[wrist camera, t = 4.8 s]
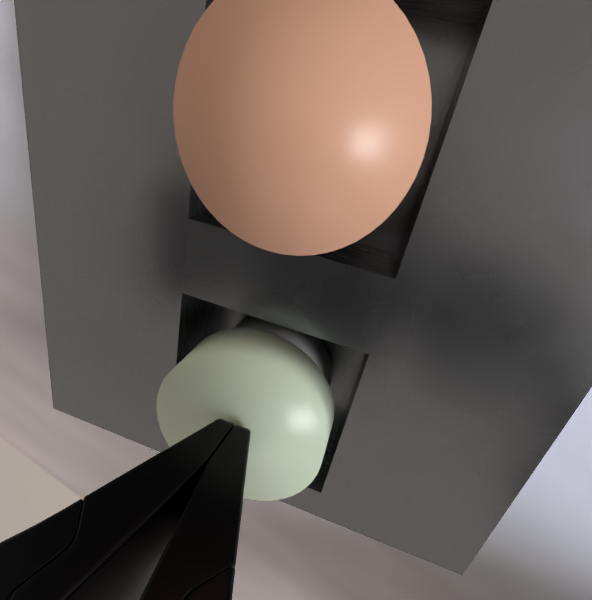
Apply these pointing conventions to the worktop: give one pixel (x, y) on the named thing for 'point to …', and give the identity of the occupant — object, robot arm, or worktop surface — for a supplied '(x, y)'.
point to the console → (334, 259)
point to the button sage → (257, 401)
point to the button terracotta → (302, 118)
